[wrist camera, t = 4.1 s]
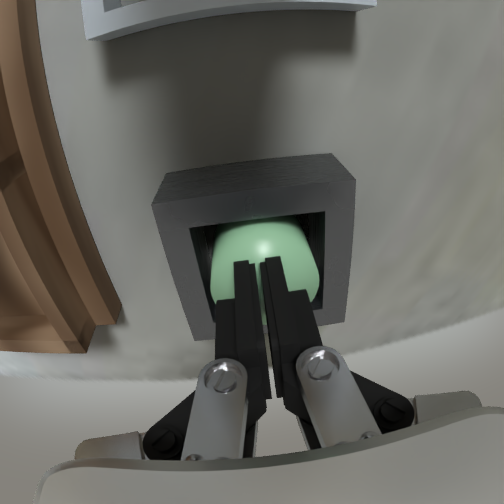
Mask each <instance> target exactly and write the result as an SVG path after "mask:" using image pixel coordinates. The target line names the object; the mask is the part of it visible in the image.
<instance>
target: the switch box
mask: <svg viewBox="0 0 504 504" xmlns="http://www.w3.org/2000/svg"><path fill="white" fill-rule="evenodd" d="M355 189H356V179H355V178H354V177H353V176H352V175H351V174H350V173H349V172H348V170H347V169H346V168H345V167H344V166H343V165H342V164H341V163H340V162H339V161H338V160H337V158H336V157H335V156H334V155H333V154H332V153H329V154H316V155H304V156H293V157H282V158H273V159H263V160H255V161H246V162H238V163H231V164H223V165H216V166H209V167H203V168H196V169H190V170H184V171H178V172H172V173H166V175H165V177H164V179H163V181H162V183H161V185H160V187H159V189H158V192H157V194H156V196H155V198H154V200H153V202H152V204H151V205H152V209H153V213H154V216H155V220H156V223H157V227H158V230H159V234H160V237H161V240H162V244H163V247H164V250H165V254H166V257H167V260H168V263H169V267H170V270H171V273H172V276H173V279H174V282H175V285H176V288H177V291H178V294H179V297H180V300H181V303H182V306H183V309H184V312H185V315H186V318H187V321H188V324H189V327H190V329H191V332H192V335H193V338H194V340H195V341H198V340H210V339H215V332H216V304H215V302H214V300H213V298H212V295H211V289H210V285H211V267H212V264H211V260H210V255H209V251H208V246H207V241H206V237H205V232H204V228H203V226H206V225H214V224H221V223H229V222H237V221H245V220H253V219H261V218H269V217H277V216H286V215H295V214H303V213H309V247H310V250H311V253H312V256H313V258H314V261H315V264H316V267H317V269H318V273H319V287H318V290H317V293H316V295H315V297H314V299H313V300H312V302H311V306H312V309H313V313H314V316H315V320H316V323H317V326H323V325H329V324H335V323H341V322H344V320H345V312H346V304H347V295H348V286H349V276H350V266H351V254H352V242H353V227H354V210H355ZM263 331H264V334H266V333H268V329H267V325H263Z"/></svg>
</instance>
